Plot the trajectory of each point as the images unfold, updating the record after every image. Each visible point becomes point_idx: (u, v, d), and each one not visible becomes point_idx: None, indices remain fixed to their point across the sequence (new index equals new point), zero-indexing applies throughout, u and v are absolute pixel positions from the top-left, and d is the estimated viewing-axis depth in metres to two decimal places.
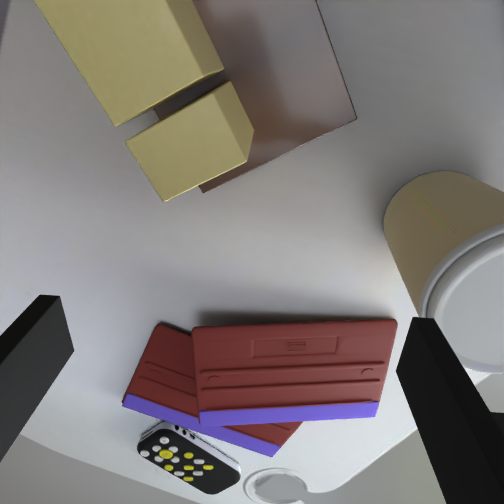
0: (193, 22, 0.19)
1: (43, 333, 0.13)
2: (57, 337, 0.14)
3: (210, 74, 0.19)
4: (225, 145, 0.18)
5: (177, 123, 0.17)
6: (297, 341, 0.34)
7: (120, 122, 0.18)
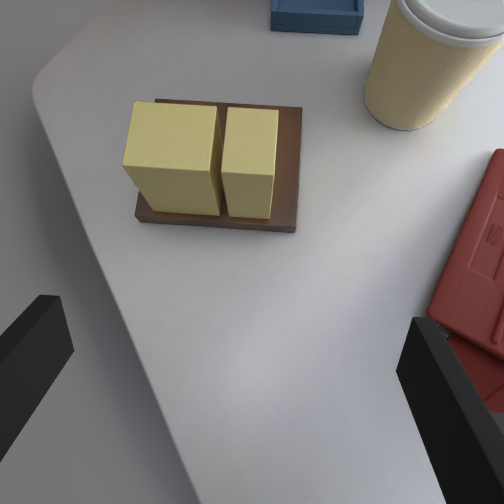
0: None
1: (43, 333, 0.13)
2: (57, 337, 0.14)
3: (220, 131, 0.28)
4: (261, 115, 0.25)
5: (231, 134, 0.25)
6: (488, 231, 0.31)
7: (208, 166, 0.24)
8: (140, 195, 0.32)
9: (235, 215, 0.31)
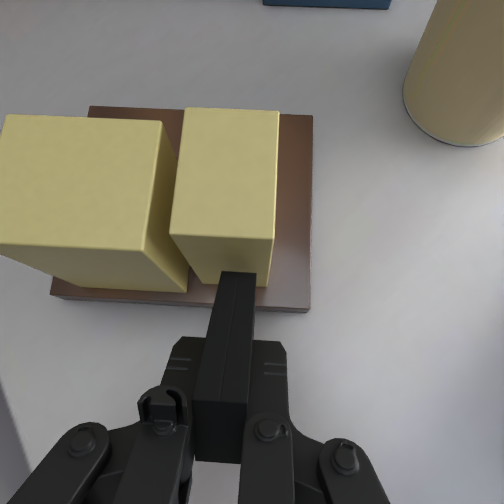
0: None
1: None
2: None
3: (177, 162, 0.16)
4: (246, 122, 0.13)
5: (190, 158, 0.13)
6: None
7: (142, 240, 0.12)
8: None
9: (212, 282, 0.19)
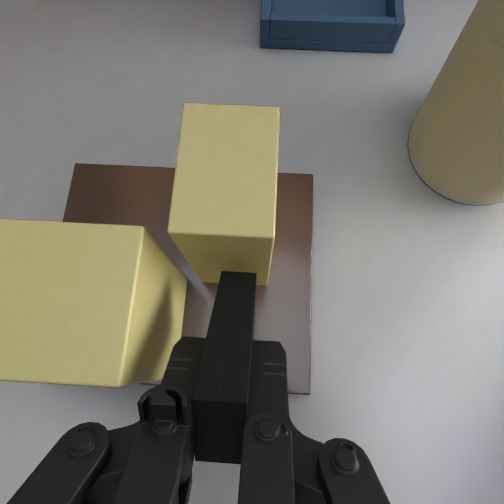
0: None
1: None
2: None
3: (164, 253, 0.15)
4: (246, 118, 0.13)
5: (188, 155, 0.13)
6: None
7: (120, 373, 0.11)
8: None
9: (212, 281, 0.19)
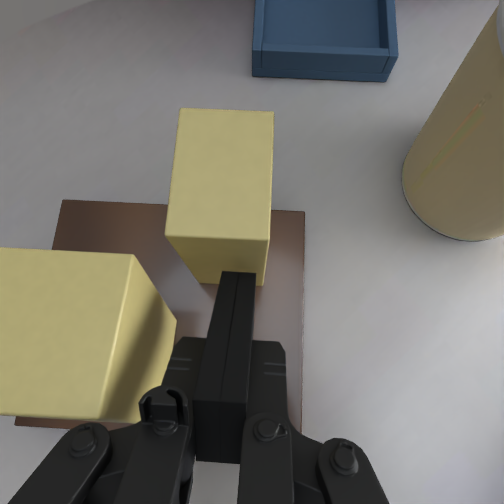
0: None
1: None
2: None
3: (153, 287, 0.14)
4: (241, 123, 0.13)
5: (185, 159, 0.13)
6: None
7: (100, 404, 0.10)
8: None
9: (208, 281, 0.19)
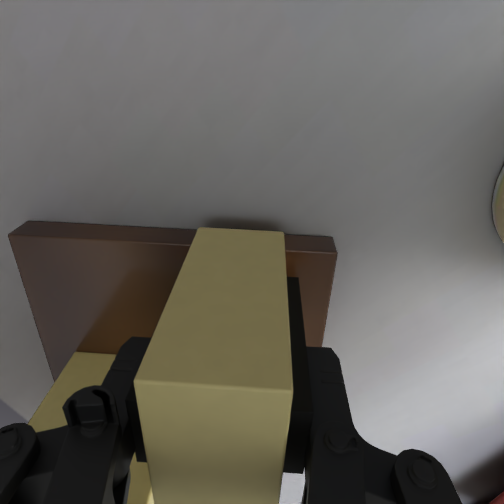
0: None
1: None
2: None
3: None
4: (238, 407, 0.08)
5: (160, 444, 0.09)
6: None
7: None
8: None
9: None
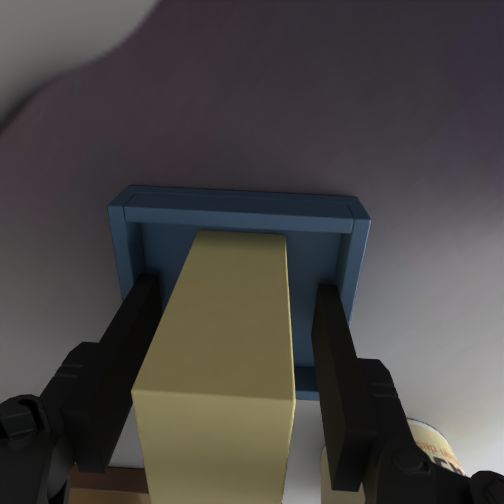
0: None
1: (150, 306, 0.14)
2: (156, 312, 0.15)
3: None
4: (239, 417, 0.08)
5: (158, 455, 0.09)
6: None
7: None
8: None
9: None
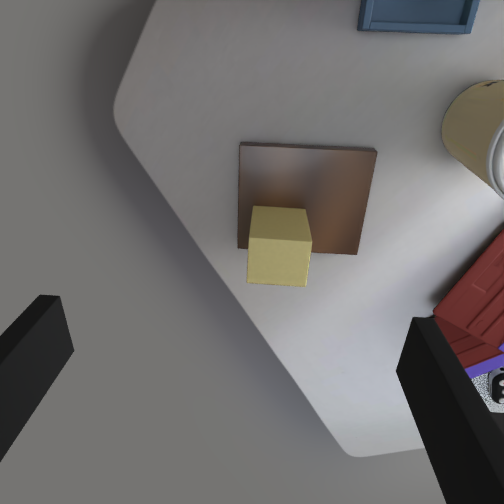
0: (283, 220, 0.37)
1: (43, 333, 0.13)
2: (57, 337, 0.14)
3: (309, 230, 0.36)
4: None
5: None
6: (500, 258, 0.42)
7: (305, 283, 0.36)
8: (239, 233, 0.42)
9: None
